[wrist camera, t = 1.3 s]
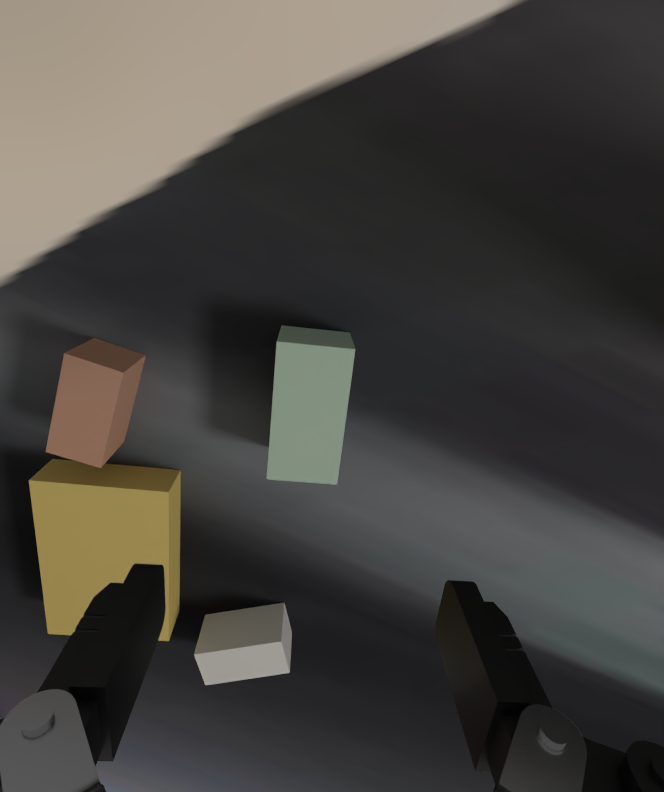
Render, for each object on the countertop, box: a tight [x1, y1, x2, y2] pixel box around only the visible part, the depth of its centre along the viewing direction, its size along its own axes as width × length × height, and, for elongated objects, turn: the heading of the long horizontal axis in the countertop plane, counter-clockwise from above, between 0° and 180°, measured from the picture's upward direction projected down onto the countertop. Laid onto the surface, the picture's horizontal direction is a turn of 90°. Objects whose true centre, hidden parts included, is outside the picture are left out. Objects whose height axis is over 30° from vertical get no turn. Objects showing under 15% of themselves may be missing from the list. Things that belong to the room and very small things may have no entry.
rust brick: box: [46, 338, 146, 468], centre depth 26 cm, size 6×3×4 cm, turn 159°
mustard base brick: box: [29, 459, 181, 641], centre depth 30 cm, size 8×12×3 cm, turn 173°
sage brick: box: [267, 326, 355, 485], centre depth 26 cm, size 4×8×4 cm, turn 173°
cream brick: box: [194, 603, 292, 685], centre depth 33 cm, size 6×3×4 cm, turn 99°
